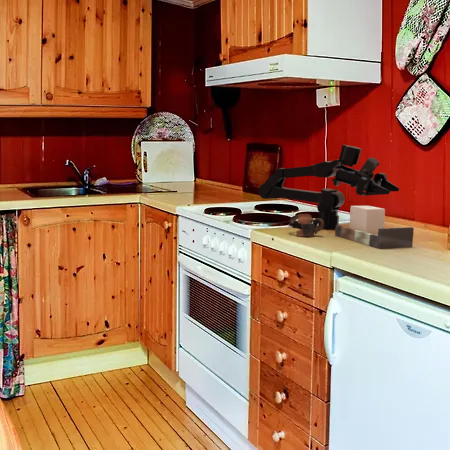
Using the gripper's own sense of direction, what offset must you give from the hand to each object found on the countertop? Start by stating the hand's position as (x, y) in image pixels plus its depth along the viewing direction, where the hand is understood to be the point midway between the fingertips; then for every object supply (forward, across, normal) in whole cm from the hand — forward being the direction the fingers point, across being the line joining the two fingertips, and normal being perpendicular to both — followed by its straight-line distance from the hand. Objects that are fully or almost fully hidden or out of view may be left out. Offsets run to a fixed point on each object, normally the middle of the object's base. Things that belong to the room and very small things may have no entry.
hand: (394, 191), depth 212 cm
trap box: (+2, -15, +14) cm, 21 cm away
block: (-1, -13, +13) cm, 19 cm away
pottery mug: (-18, -21, +20) cm, 34 cm away
